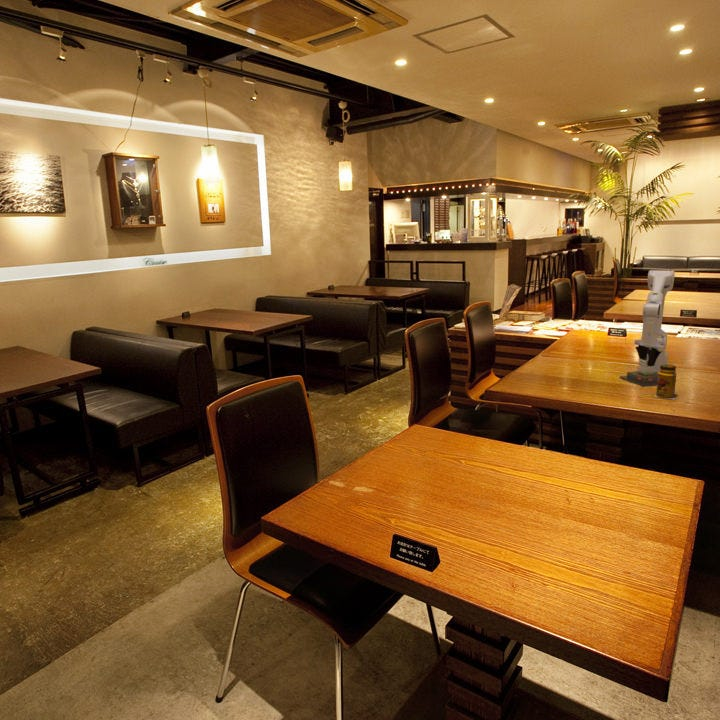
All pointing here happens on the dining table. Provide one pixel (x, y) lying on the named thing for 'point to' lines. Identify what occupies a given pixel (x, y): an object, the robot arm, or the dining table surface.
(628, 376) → the housing
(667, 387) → the condiment
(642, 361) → the column
